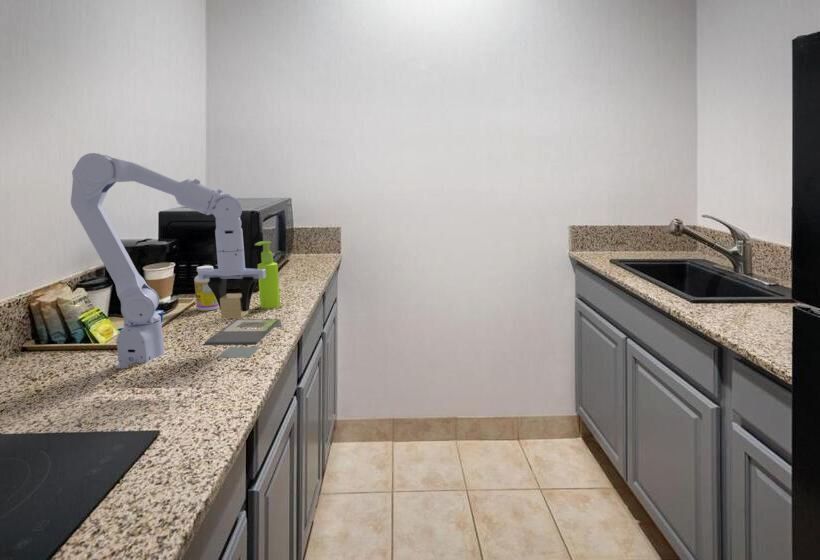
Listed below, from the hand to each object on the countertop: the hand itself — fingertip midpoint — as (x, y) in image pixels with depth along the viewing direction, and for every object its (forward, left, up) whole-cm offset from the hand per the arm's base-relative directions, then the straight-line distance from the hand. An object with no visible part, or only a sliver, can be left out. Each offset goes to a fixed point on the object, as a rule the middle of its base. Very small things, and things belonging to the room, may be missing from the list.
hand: (235, 310), depth 123 cm
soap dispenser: (+43, +6, -10) cm, 45 cm away
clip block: (0, 0, -1) cm, 1 cm away
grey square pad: (-6, -2, -9) cm, 11 cm away
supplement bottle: (+41, +24, -10) cm, 48 cm away
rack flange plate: (+10, +2, -9) cm, 14 cm away
